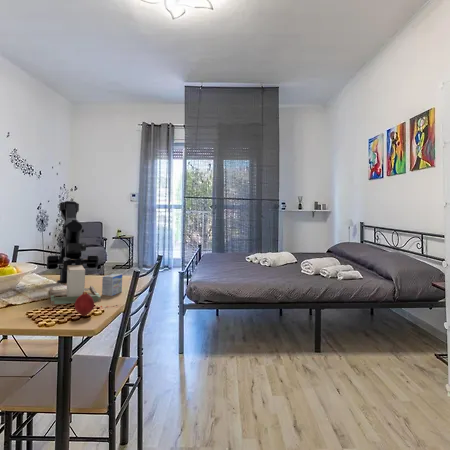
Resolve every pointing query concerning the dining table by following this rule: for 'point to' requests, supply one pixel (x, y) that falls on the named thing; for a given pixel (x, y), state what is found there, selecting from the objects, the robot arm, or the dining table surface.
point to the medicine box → (112, 284)
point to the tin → (75, 280)
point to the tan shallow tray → (65, 299)
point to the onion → (84, 304)
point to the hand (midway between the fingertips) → (73, 279)
